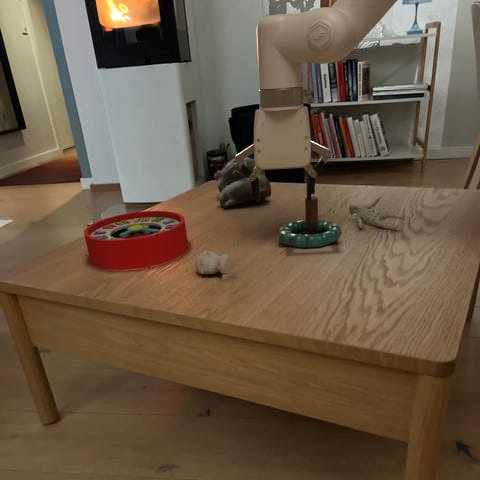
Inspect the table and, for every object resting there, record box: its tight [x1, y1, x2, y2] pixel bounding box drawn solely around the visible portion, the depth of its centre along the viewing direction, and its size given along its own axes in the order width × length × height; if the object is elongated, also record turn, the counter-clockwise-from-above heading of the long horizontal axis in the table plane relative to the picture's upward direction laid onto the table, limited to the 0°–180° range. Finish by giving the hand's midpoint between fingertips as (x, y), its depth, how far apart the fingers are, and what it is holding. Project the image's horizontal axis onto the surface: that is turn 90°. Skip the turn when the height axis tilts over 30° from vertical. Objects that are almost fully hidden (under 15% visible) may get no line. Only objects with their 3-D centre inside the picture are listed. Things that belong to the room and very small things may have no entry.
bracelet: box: [277, 219, 342, 249], centre depth 92 cm, size 12×12×2 cm
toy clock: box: [83, 210, 189, 272], centre depth 96 cm, size 20×6×20 cm
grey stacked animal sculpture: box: [214, 153, 272, 209], centre depth 125 cm, size 15×12×14 cm
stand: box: [288, 196, 338, 249], centre depth 91 cm, size 9×9×9 cm
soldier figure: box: [348, 196, 406, 231], centre depth 100 cm, size 8×5×12 cm
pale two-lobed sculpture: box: [194, 250, 235, 276], centre depth 83 cm, size 4×8×5 cm
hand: (283, 199), depth 90 cm, fingers open, 9 cm apart
